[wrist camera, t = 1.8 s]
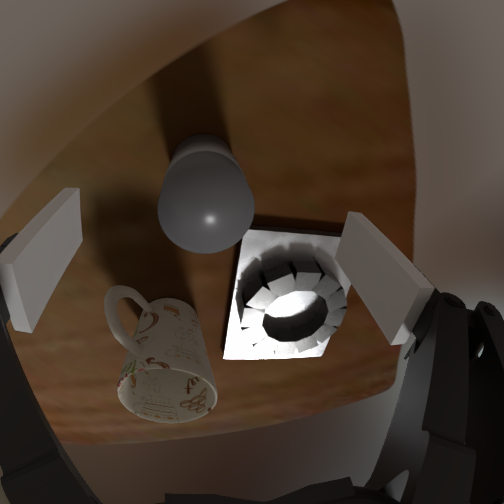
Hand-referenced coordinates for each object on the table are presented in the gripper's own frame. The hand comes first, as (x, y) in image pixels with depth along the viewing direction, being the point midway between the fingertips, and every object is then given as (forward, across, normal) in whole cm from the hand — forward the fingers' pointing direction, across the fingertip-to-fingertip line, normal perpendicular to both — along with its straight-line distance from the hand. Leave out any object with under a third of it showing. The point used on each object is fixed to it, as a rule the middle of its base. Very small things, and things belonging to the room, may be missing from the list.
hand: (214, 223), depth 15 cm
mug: (+12, -4, -15) cm, 19 cm away
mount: (+12, +10, -13) cm, 20 cm away
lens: (+12, 0, 0) cm, 12 cm away
